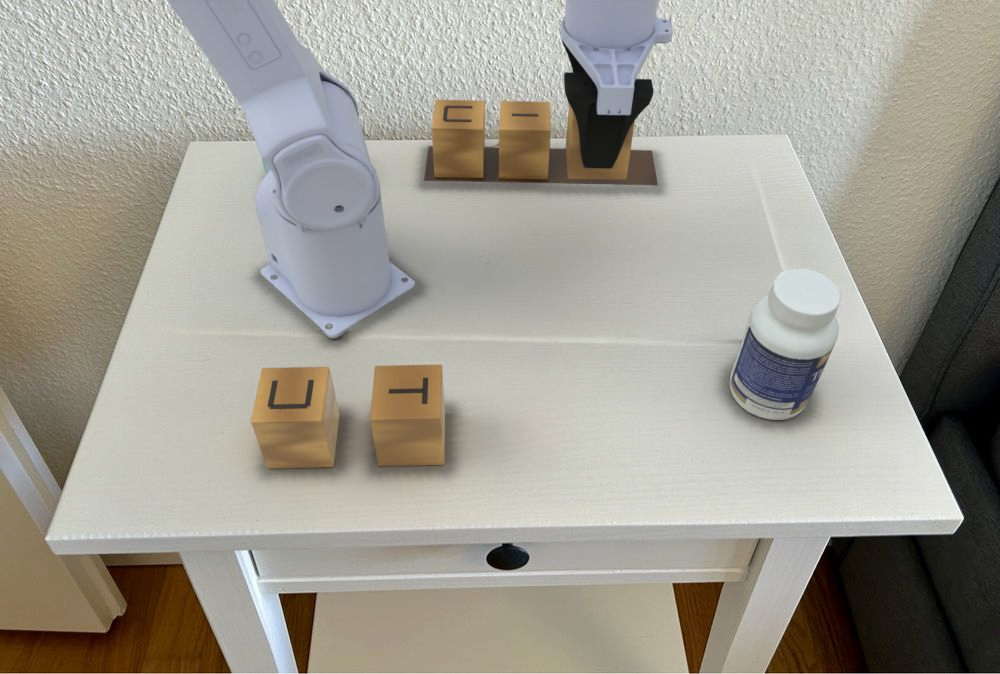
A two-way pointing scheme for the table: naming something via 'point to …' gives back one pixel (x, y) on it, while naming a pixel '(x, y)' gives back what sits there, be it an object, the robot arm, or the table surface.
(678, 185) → the table surface
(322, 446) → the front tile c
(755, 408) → the pill bottle
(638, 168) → the word board
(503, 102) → the board tile
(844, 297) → the table surface
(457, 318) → the table surface
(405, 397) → the tile
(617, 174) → the wooden letter cube
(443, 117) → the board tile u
